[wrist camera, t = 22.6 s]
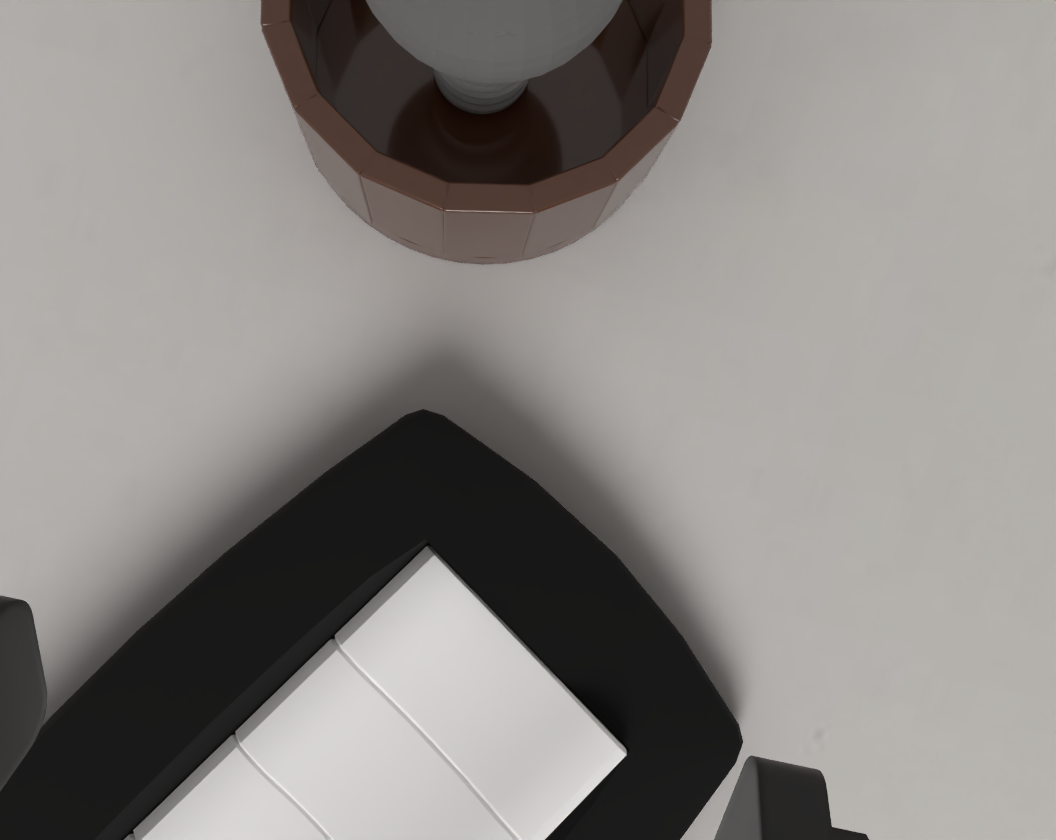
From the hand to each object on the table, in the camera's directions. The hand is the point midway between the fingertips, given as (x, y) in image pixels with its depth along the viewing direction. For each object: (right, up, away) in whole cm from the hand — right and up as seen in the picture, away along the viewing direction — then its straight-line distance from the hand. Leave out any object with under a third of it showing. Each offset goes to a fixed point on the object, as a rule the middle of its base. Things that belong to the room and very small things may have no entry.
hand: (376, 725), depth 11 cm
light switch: (-3, -7, +15) cm, 17 cm away
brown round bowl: (0, +13, +17) cm, 21 cm away
